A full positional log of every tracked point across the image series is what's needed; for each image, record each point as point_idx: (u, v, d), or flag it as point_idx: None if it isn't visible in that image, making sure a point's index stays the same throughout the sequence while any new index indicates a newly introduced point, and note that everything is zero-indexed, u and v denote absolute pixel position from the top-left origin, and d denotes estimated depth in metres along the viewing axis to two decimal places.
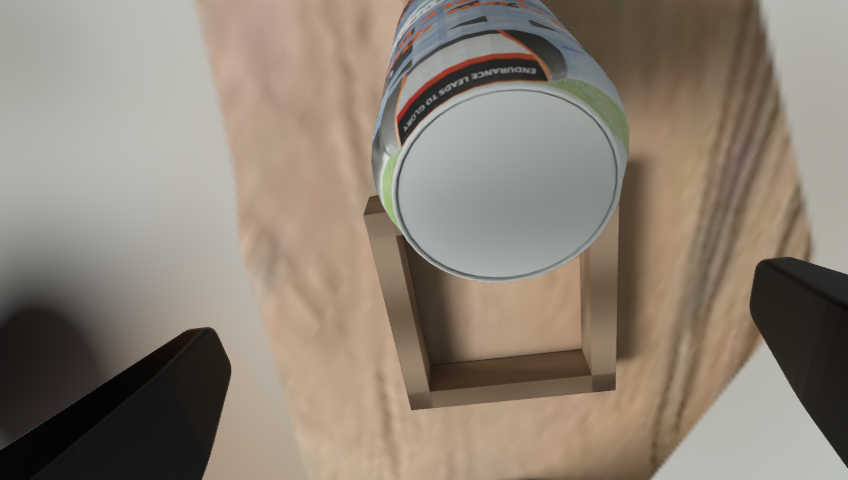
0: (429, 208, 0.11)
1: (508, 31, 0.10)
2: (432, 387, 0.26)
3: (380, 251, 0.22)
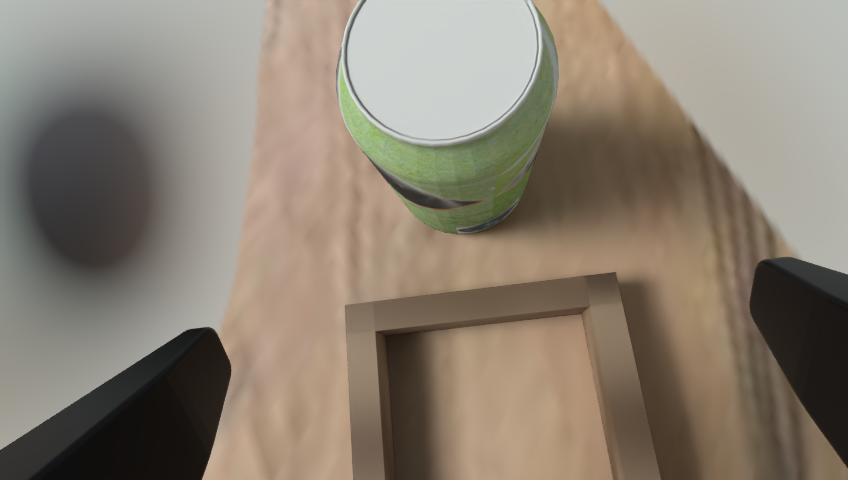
0: (372, 60, 0.12)
1: None
2: None
3: (355, 350, 0.20)
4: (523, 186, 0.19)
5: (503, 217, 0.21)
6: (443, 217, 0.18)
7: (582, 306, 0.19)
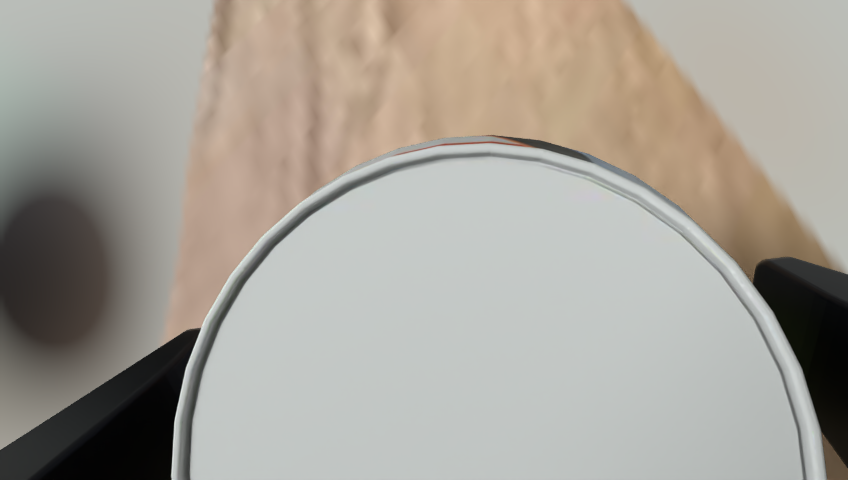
0: (264, 475, 0.04)
1: None
2: None
3: None
4: None
5: None
6: None
7: None
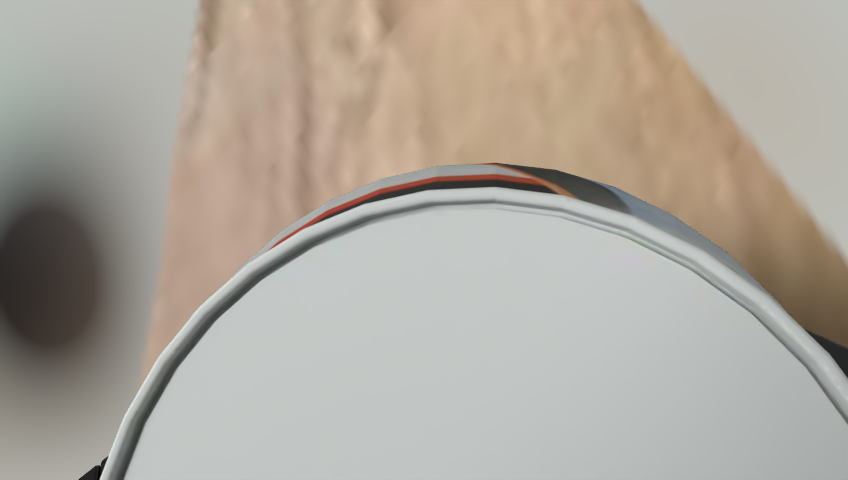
0: None
1: (481, 165, 0.05)
2: None
3: None
4: None
5: None
6: None
7: None
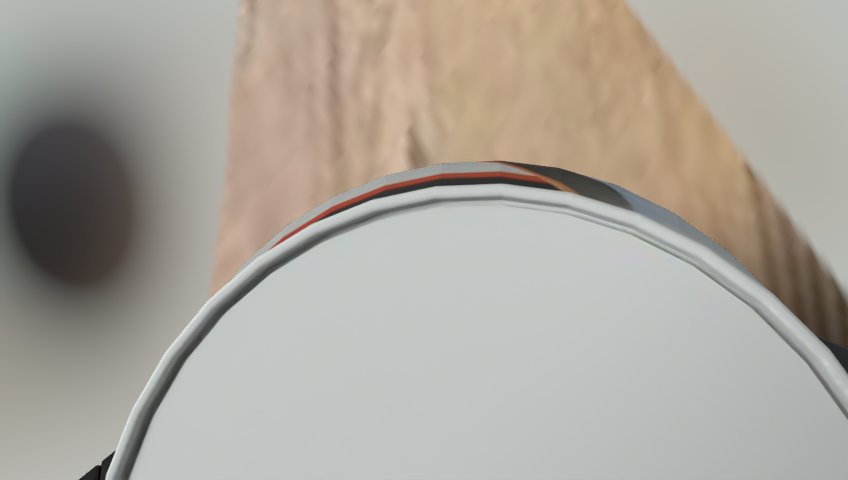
0: None
1: (485, 163, 0.05)
2: None
3: None
4: None
5: None
6: None
7: None
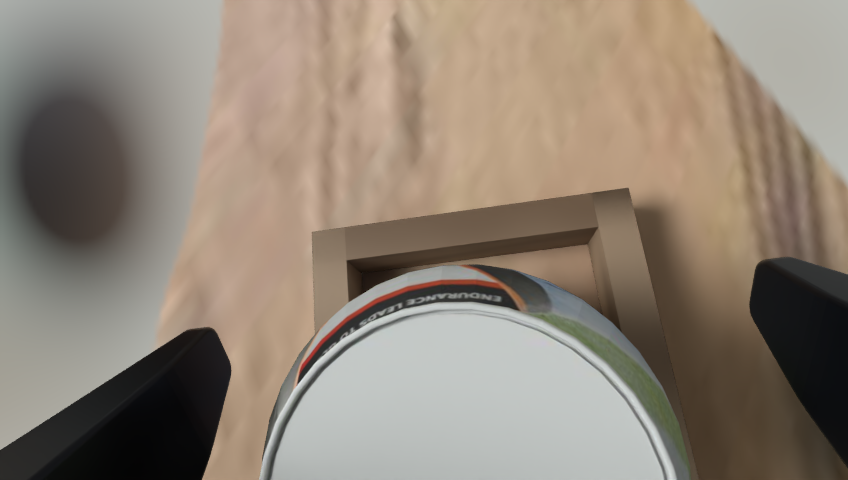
0: None
1: (469, 265, 0.07)
2: None
3: (323, 282, 0.17)
4: None
5: None
6: None
7: (589, 227, 0.16)
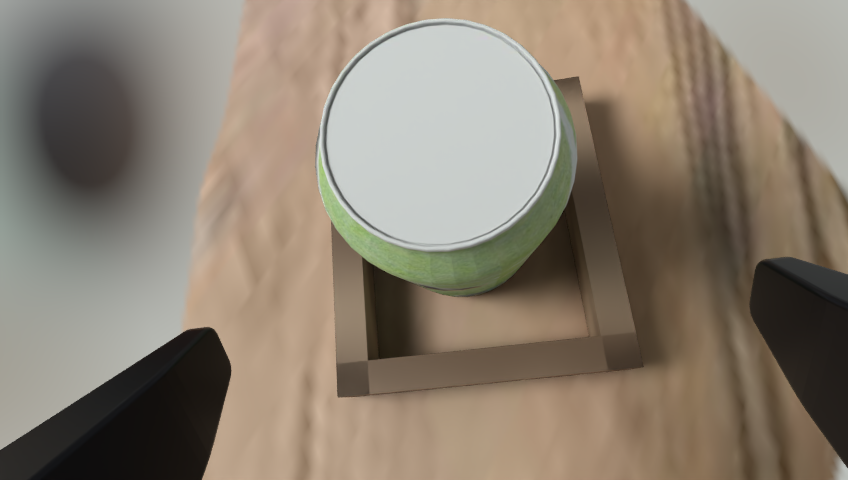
0: (356, 144, 0.10)
1: None
2: (373, 360, 0.18)
3: None
4: None
5: None
6: (439, 291, 0.16)
7: None
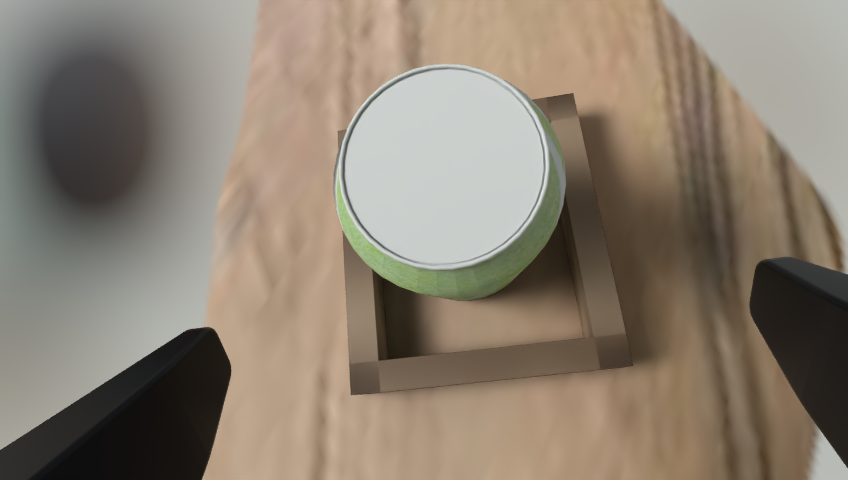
0: (371, 176, 0.12)
1: None
2: None
3: None
4: None
5: None
6: None
7: None
